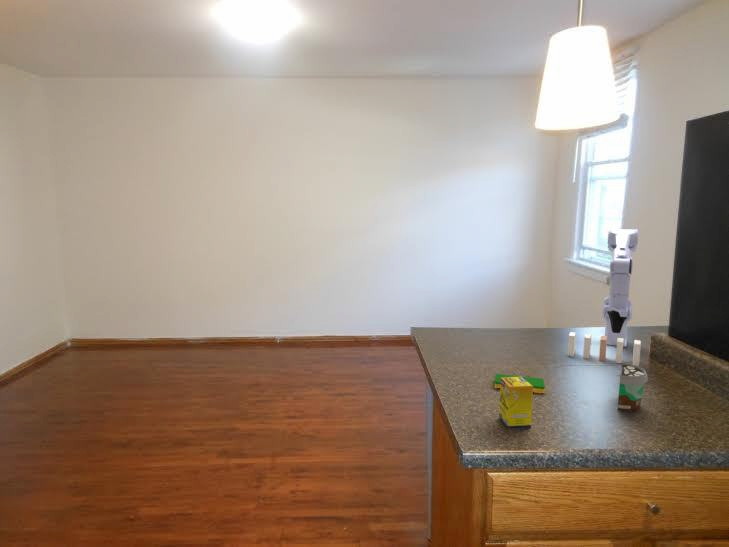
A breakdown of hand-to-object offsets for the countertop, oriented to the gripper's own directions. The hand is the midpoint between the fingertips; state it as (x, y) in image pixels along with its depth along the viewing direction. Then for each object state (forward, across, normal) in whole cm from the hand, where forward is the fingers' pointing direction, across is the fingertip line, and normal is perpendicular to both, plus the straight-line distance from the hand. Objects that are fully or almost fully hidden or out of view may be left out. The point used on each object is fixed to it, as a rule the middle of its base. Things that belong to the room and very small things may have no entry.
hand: (616, 332), depth 154 cm
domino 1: (+10, -4, -13) cm, 17 cm away
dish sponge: (+11, +31, -34) cm, 47 cm away
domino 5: (+10, +2, +6) cm, 12 cm away
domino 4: (+10, 0, +1) cm, 10 cm away
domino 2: (+10, -2, -8) cm, 13 cm away
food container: (+10, +38, -5) cm, 40 cm away
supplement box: (+10, +55, -36) cm, 67 cm away
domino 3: (+10, -1, -3) cm, 11 cm away
